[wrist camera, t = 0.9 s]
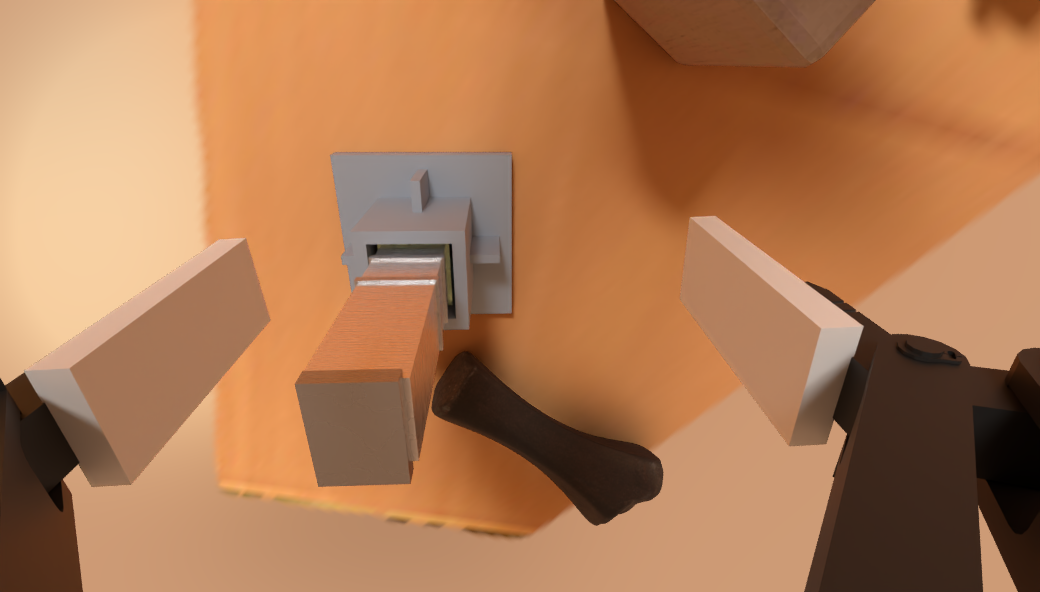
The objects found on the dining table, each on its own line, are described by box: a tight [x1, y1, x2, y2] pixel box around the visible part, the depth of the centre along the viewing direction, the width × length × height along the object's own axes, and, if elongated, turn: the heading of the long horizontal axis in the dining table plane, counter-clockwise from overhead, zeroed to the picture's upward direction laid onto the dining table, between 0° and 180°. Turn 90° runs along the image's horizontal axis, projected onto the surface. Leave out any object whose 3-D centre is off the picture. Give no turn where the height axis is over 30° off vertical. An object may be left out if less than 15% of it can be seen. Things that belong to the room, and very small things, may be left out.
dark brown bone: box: [432, 351, 663, 526], centre depth 56 cm, size 11×10×28 cm
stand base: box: [330, 152, 512, 330], centre depth 43 cm, size 16×16×12 cm
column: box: [295, 244, 454, 487], centre depth 35 cm, size 6×6×27 cm
